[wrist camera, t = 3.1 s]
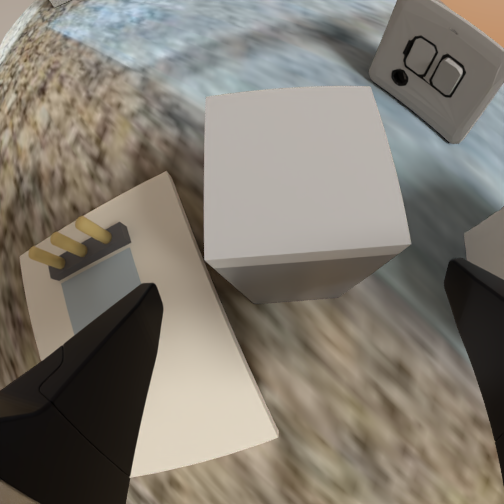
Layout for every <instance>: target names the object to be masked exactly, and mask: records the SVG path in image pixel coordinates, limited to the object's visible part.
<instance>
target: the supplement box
mask: <svg viewBox="0 0 504 504" xmlns="http://www.w3.org/2000/svg"><path fill="white" fill-rule="evenodd" d="M49 1H50V2H51V4H52V5H53V6H54V8H55V7H57V6H59V5H62V4H64V3H66V2H68V1H71V0H49Z"/></svg>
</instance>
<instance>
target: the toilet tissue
mask: <svg viewBox="0 0 504 504" xmlns="http://www.w3.org/2000/svg"><path fill="white" fill-rule="evenodd" d="M464 242H465V248H466V258H467V261H469V262H471V263H473V264H475V265H477V266H479V267H481V268H483V269H484V270H486V271H488V272H490V273H492V274H494V275H496V276H498V277H499V278H501V279H503V280H504V206H503V207H502V209H501V210H499V211H497V212H495V213H494V214H493V215H491V216H489V217H488V218H487V219H486V220H484V221H482V222H481V223H480V224H478V225H477V226H475V227H473V228H472V229H471V230H469V231H467V232H465V233H464Z"/></svg>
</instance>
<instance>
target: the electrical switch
mask: <svg viewBox="0 0 504 504" xmlns="http://www.w3.org/2000/svg"><path fill="white" fill-rule="evenodd" d="M369 76H370V78H371V79H372V81H373V82H375V83H376V84H378V85H379V86H381V87H382V88H383V89H385V90H386V91H387V92H389V93H390V94H392V95H393V96H394V97H396V98H397V99H398V100H400V101H401V102H402V103H403V104H405V105H406V106H407V107H409V108H410V109H411V110H412V111H414V112H415V113H416V114H417V115H419V116H420V117H421V118H422V119H423V120H425V121H426V122H427V123H428V124H429V125H430V126H432V127H433V128H434V129H435V130H436V131H437V132H439V133H440V134H441V135H442V136H443V137H444V138H445V139H446V140H447V141H449V142H450V143H452V144H459V143H460V142H461V141H462V140H463V139H464V138H465V137H466V136H467V134H468V133H469V131H470V130H471V129H472V127H473V126H474V124H475V123H476V122H477V120H478V119H479V117H480V116H481V115H482V113H483V112H484V110H485V109H486V108H487V106H488V105H489V103H490V102H491V100H492V99H493V98H494V96H495V95H496V93H497V92H498V90H499V89H500V87H501V86H502V84H503V83H504V48H503V47H501V46H500V45H499V44H498V43H496V42H495V41H494V40H493V39H491V38H490V37H489V36H487V35H486V34H485V33H483V32H482V31H481V30H480V29H478V28H477V27H475V26H474V25H472V24H471V23H470V22H468V21H467V20H465V19H464V18H462V17H461V16H459V15H458V14H456V13H455V12H453V11H452V10H450V9H449V8H447V7H445V6H444V5H442V4H441V3H439V2H437V1H436V0H397V2H396V5H395V7H394V10H393V12H392V15H391V17H390V20H389V22H388V25H387V27H386V30H385V32H384V35H383V37H382V40H381V42H380V45H379V47H378V50H377V52H376V54H375V57H374V59H373V62H372V64H371V67H370V69H369Z"/></svg>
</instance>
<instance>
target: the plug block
mask: <svg viewBox="0 0 504 504" xmlns="http://www.w3.org/2000/svg"><path fill="white" fill-rule="evenodd" d="M410 245H411V239H410V234H409V228H408V223H407V218H406V213H405V208H404V203H403V199H402V194H401V190H400V186H399V181H398V177H397V173H396V169H395V165H394V161H393V158H392V154H391V150H390V147H389V143H388V140H387V136H386V133H385V130H384V126H383V123H382V120H381V117H380V114H379V111H378V108H377V105H376V102H375V99H374V96H373V93H372V90H371V87H370V86H317V87H295V88H279V89H267V90H256V91H247V92H238V93H230V94H222V95H215V96H209V97H206V109H205V145H204V260H205V261H206V262H207V263H208V264H209V265H210V266H211V267H213V268H214V269H215V270H216V271H217V272H218V273H219V274H221V275H222V276H223V277H224V278H225V279H226V280H227V281H229V282H230V283H231V284H232V285H233V286H234V287H235V288H237V289H238V290H239V291H240V292H241V293H242V294H244V295H245V296H246V297H247V298H248V299H249V300H250V301H252V302H253V303H254V304H263V303H277V302H291V301H304V300H316V299H328V298H338V297H340V296H341V295H342V294H344V293H345V292H347V291H348V290H350V289H351V288H353V287H354V286H355V285H357V284H358V283H360V282H361V281H362V280H364V279H365V278H367V277H368V276H369V275H371V274H372V273H374V272H375V271H376V270H378V269H379V268H380V267H382V266H383V265H384V264H386V263H387V262H388V261H390V260H391V259H393V258H394V257H395V256H396V255H398V254H399V253H400V252H402V251H403V250H404V249H406V248H407V247H408V246H410Z"/></svg>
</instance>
